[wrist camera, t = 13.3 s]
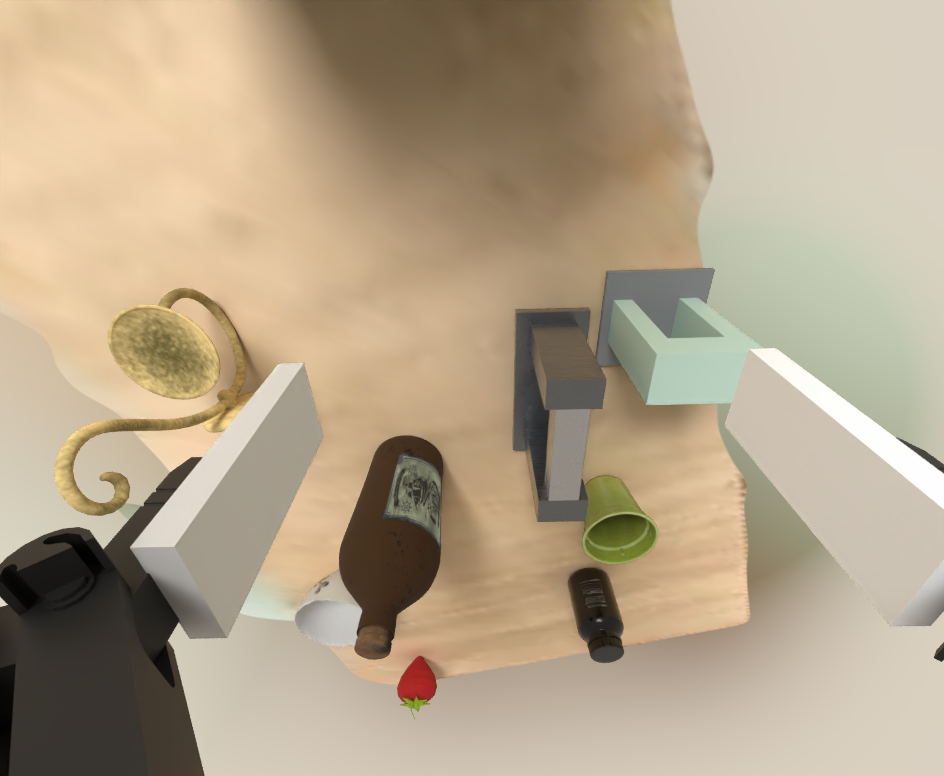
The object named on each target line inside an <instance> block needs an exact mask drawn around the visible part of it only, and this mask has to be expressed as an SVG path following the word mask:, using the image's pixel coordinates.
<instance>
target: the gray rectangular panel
mask: <svg viewBox="0 0 944 776" xmlns="http://www.w3.org/2000/svg"><path fill="white" fill-rule="evenodd" d="M714 271H715V270H714V269H713V268H697V269H662V270H628V271H607V273H606V280H605V288H604V296H603V304H602V311H601V319H600V327H599V335H598V343H597V350H596V360H597V362H598V364H599V366H615V365H621V363H620V362H619V360H618V358H617V357H616V355H615V353H614V352H613V350H612V349H611V347H610V345H609V344H608V337H609V330H610V322H611V315H612V308H613V301H614V300H633V301H634V302H635V303H636V304H637V305H638V306H639V307H640V309H641V310H642V311H643V312H644V313H645V314H646V315H647V316H648V317H649V318H650V320H651V321H652V322H653V323H654V324H655V325H656V326H657V327H658V328H659V329H660V331H661V332H662V333H663V334H664V335H665V336H666V337H667V338H671V333H672V329H673V324H674V320H675V315H676V311H677V306H678V302H679V298H699V299H700V300H702V301H703V302H704V303H705V304H706V302H707V298H708V294H709V290H710V286H711V283H712V278H713V275H714Z"/></svg>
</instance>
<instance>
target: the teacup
mask: <svg viewBox="0 0 944 776" xmlns="http://www.w3.org/2000/svg"><path fill="white" fill-rule="evenodd" d="M361 613H362V609H361V608H360V606H359V605H358V604H357V602H356V601H355V600H354V598H353V597H352V596H351V594H350V593H349V592H348V590H347V589H346V587H345V586H344V584H343V581H342V579H341V575H340V570H338V571H336V572H334V573H332V574H330V575H328V576H326V577H325V578H323V579H322V580H321V581H319V582H318V583H317V584H316V585H315V586H314V587H313V588H312V589H311V590H310V591H309V593H308V594H307V595H306V597H305V599H304V600H303V602H302V603H301V605H300V607H299V609H298V611H297V613H296V615H295V622H296V625H297V627H298V629H299V631H300V632H301V633H303V634H304V635H305V636H306V637H308V638H310V639H312V640H315V641H316V642H318V643H321V644H324V645H328V646H337V647H345V646H347V645H351V646H355V643H356V639H357V638H358V636H357V633H356V632H357V629H358V624H359V620H360V617H361Z"/></svg>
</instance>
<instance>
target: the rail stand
mask: <svg viewBox="0 0 944 776" xmlns="http://www.w3.org/2000/svg"><path fill="white" fill-rule="evenodd" d="M589 319H590V309H589V308H556V309H519V310H516V314H515V359H514V404H513V450H526V454H527V460H528V466H529V473H530V479H531V485H532V491H533V498H534V504H535V510H536V516H537V522H557V521H586V515H587V508H588V501H589V499H588V496H587V493H586V490H585V486H584V483H583V480H582V471H583V463H584V456H585V448H586V440H587V433H588V425H589V418H590V410H591V409H602V406H603V399H604V392H605V386H606V377H605V375H604V373H603V371H602V369H601V368H600V366H599V364H598V362H597V360H596V358H595V356H594V354H593V352H592V350H591V348H590V346H589V345H588V343H587V336H588V328H589Z"/></svg>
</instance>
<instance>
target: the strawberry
mask: <svg viewBox="0 0 944 776" xmlns="http://www.w3.org/2000/svg"><path fill="white" fill-rule="evenodd" d="M436 688H437V684H436V679H435V675H434V673H433V672H432V670H431V669H430V667H429V665H428V664H427V663H426V662H425V661H424V659H423V658H422V657H420V656H419V657H417V658H416V659H415V660H414V661H413V662H412V663H411V665H410V666H409V667H408V668H407V670H406V671H405V672H404V674H403V675H402V677H401V679H400V682H399V684H398V687H397V690H398V696H399V698H400V699H401V700H402V701H403V702H405V704H401V705H402V706H408V707H409V706H410V707H409V708H411V709H412V708H415V709H416V710H417V711H419V708H420V707H419V706H421V705H428V704H430V703H425V702H427V701H429V700H430V699H431V698H432V697H433V696H434V695H435V692H436ZM411 711H412V710H411ZM412 714H413V713H412ZM413 717H414V716H413ZM414 719H415V718H414Z"/></svg>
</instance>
